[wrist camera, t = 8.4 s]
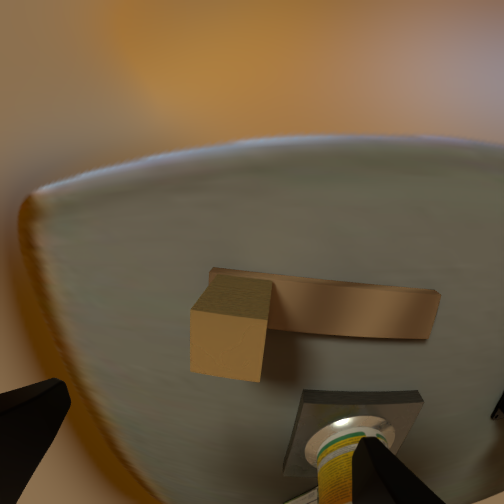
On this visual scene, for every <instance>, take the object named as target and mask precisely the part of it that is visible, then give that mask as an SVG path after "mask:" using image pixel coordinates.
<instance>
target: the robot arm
mask: <svg viewBox="0 0 504 504" xmlns="http://www.w3.org/2000/svg"><path fill="white" fill-rule="evenodd" d="M70 405H71V399H70V396H69V393H68V389H67V386H66V384H65V382H64V381H62V380H59V379H57V378H51V379H48V380H45V381H42V382H38V383H35V384H32V385H29V386H25V387H22V388H19V389H15V390H12V391H8V392H5V393H1V394H0V504H16V503H17V501H18V499H19V497H20V496H21V494H22V492H23V490H24V489H25V487H26V485H27V483H28V482H29V480H30V478H31V477H32V475H33V473H34V471H35V470H36V468H37V466H38V465H39V463H40V462H41V460H42V458H43V456H44V455H45V453H46V452H47V450H48V448H49V447H50V445H51V444H52V442H53V440H54V438H55V436H56V435H57V432H58V430H59V428H60V426H61V424H62V422H63V420H64V418H65V416H66V414H67V412H68V410H69V408H70ZM491 418H492V419H493V420H498V419H501V418H504V394H503V396H502V398H501V400H500V402H499V404H498V405H497V407H496V409H495V411H494V412H493V414H492V416H491ZM352 504H446V503H444V502H443V501H442V500H441V499H440V498H439V497H438V496H437V495H436V494H435V493H434V492H433V491H432V490H430V489H429V488H428V487H427V486H426V485H425V484H424V483H423V482H422V481H421V480H420V479H419V478H418V477H417V476H416V475H415V474H414V473H413V472H412V471H411V470H409V469H408V468H407V467H406V466H405V465H404V464H403V463H402V462H401V461H400V460H399V459H398V458H397V457H396V456H395V455H394V454H393V453H392V452H391V451H390V450H389V449H388V448H387V447H386V446H385V445H384V444H383V443H382V442H381V441H380V440H379V439H378V438H377V437H375V436H368V437H362V438H361V439H360V441H359V443H358V445H357V447H356V449H355V451H354V453H353V456H352Z"/></svg>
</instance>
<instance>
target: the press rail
mask: <svg viewBox="0 0 504 504" xmlns="http://www.w3.org/2000/svg"><path fill="white" fill-rule="evenodd" d="M217 274H221V275H229V276H238V277H246V278H255V279H264V280H272V289H271V298H270V306H269V314H268V323H267V329H274V330H284V331H294V332H304V333H315V334H328V335H342V336H358V337H378V338H408V339H429V336H430V332H431V329H432V326H433V323H434V320H435V316H436V313H437V309H438V306H439V302H440V298H441V294H439V293H438V292H437V291H435V290H430V289H418V288H407V287H395V286H384V285H374V284H363V283H353V282H343V281H333V280H323V279H313V278H304V277H294V276H285V275H276V274H267V273H258V272H249V271H241V270H232V269H224V268H216V267H213V268H212V269H211V271H210V272H209V284H210V283H211V282H212V280H213V279H214V278H215V276H216V275H217Z"/></svg>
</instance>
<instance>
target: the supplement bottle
mask: <svg viewBox="0 0 504 504" xmlns="http://www.w3.org/2000/svg"><path fill="white" fill-rule="evenodd" d="M368 436H375V437H377V438H378V439H379V440H380V441H381V442H382V443H383V444H384V445H385V446H386V447H387V448H388V449H389V445H388V443H387V440H386V437H385V436H384V434H383V433H382V432H380V431H379V430H377V429H374V428H370V427H356V428H351V429H348V430H344V431H341V432H338V433H336V434H334V435H332V436H331V437H329V438H328V439H326V440H325V441H324V442H323V443H322V445H321V446H320V448H319V449H318V452H317V471H318V491H319V504H352V456H353V453H354V451H355V449H356V447H357V445H358V443H359V441H360V439H361V438H362V437H368ZM389 450H390V449H389Z"/></svg>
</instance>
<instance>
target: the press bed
mask: <svg viewBox="0 0 504 504" xmlns="http://www.w3.org/2000/svg"><path fill="white" fill-rule="evenodd" d="M423 404H424V401H423V399H422V397H421V395H420V394H419V392H418V390H414V391H391V392H344V391H320V390H304V389H303V392H302V396H301V400H300V404H299V408H298V412H297V416H296V420H295V423H294V427H293V431H292V435H291V438H290V442H289V445H288V449H287V452H286V456H285V459H284V463H283V476H288V477H318V471H317V452H318V449H319V448H320V446H321V445H322V443H323V442H324V441H325V440H326V439H328V438H329V437H331V436H332V435H334V434H336V433H338V432H341V431H344V430H348V429H351V428H356V427H370V428H374V429H377V430H379V431H380V432H382V433H383V434H384V436H385V437H386V440H387V443H388V445H389V449H390V451H391V452H392V453H393V454H394V455H396V453H397V451H398V450H399V448H400V446H401V445H402V443H403V441H404V439H405V438H406V436H407V434H408V432H409V431H410V429H411V427H412V425H413V423H414V421H415V419H416V418H417V416H418V414H419V412H420V410H421V408H422V406H423Z"/></svg>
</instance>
